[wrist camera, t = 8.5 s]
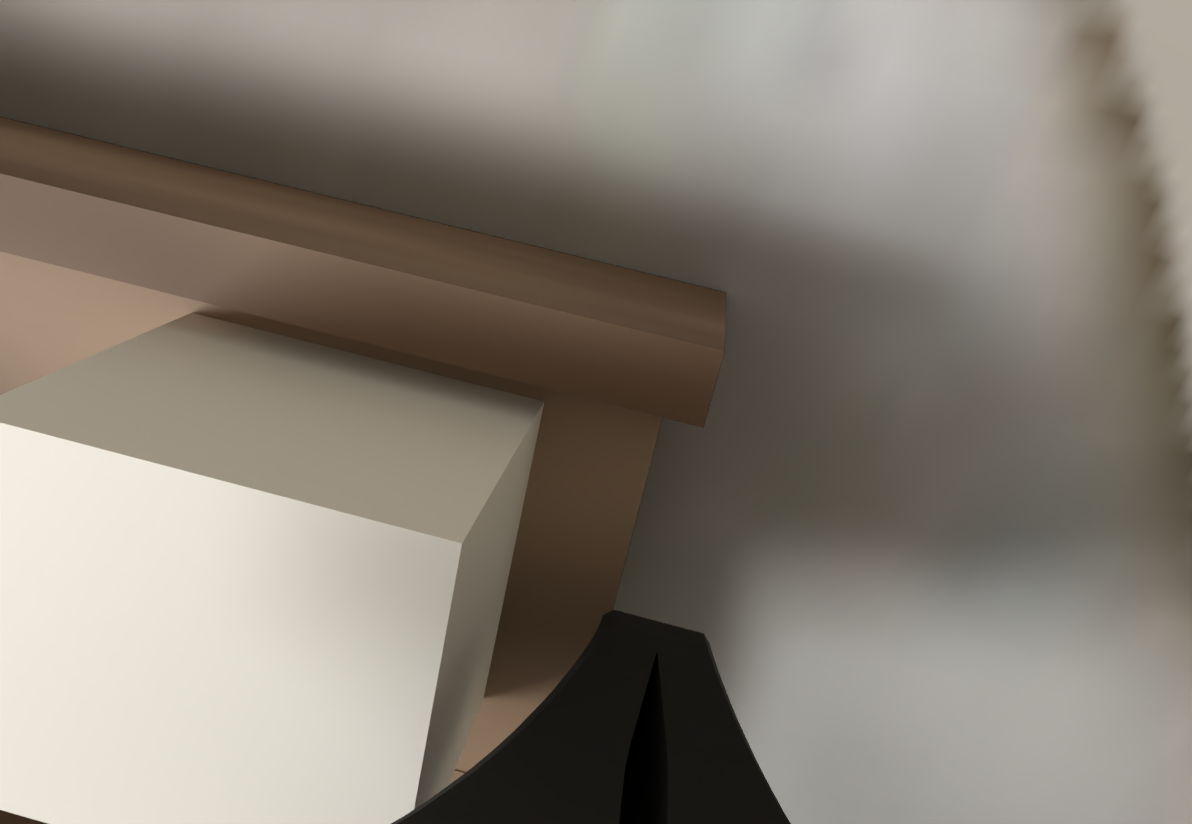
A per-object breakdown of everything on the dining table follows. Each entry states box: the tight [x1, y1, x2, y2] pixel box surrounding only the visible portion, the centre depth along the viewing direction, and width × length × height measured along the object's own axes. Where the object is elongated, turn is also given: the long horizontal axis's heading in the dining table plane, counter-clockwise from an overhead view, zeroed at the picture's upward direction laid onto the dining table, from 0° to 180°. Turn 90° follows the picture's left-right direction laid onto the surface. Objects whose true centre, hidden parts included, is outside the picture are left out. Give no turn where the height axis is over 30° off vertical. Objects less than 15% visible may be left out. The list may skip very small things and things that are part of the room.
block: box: [0, 313, 544, 824], centre depth 11 cm, size 5×5×4 cm
